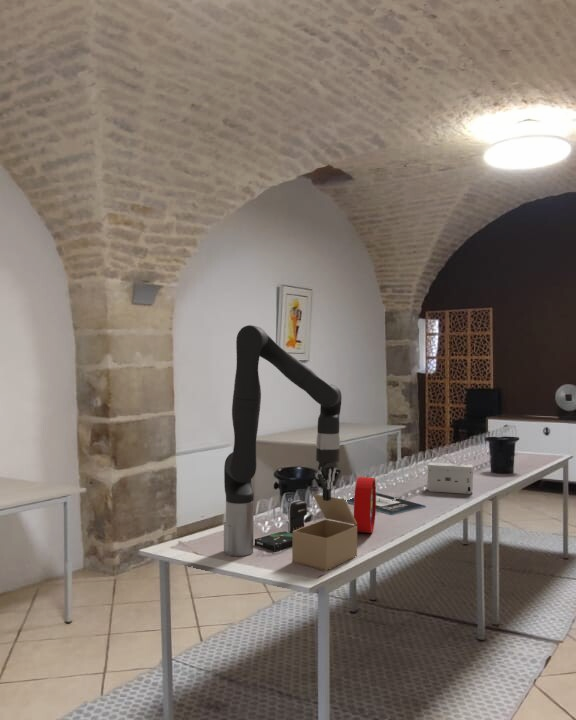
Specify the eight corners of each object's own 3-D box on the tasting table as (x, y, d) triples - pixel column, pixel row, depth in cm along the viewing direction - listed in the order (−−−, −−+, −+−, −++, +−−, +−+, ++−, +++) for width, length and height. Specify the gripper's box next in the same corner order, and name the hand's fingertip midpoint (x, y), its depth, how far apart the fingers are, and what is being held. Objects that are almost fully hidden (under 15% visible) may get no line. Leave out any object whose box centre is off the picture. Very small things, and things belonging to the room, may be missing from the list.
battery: (294, 535, 242) (295, 504, 241) (287, 533, 244) (287, 502, 244) (308, 531, 247) (308, 500, 246) (300, 529, 249) (301, 499, 249)
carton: (326, 570, 204) (326, 538, 204) (292, 562, 212) (292, 530, 212) (356, 556, 219) (357, 525, 219) (323, 548, 227) (324, 519, 226)
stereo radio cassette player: (472, 491, 317) (473, 449, 316) (472, 495, 309) (473, 452, 308) (427, 488, 322) (428, 447, 321) (426, 492, 314) (427, 450, 313)
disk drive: (275, 554, 222) (305, 543, 233) (275, 545, 222) (305, 536, 233) (253, 547, 230) (284, 537, 240) (253, 539, 230) (284, 529, 240)
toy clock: (369, 539, 237) (370, 483, 237) (353, 538, 239) (354, 482, 238) (375, 524, 257) (376, 473, 256) (360, 523, 258) (361, 472, 257)
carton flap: (344, 500, 213) (345, 499, 213) (313, 495, 220) (313, 494, 220) (356, 524, 219) (357, 523, 219) (325, 518, 226) (326, 517, 227)
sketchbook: (391, 516, 272) (391, 511, 272) (340, 502, 295) (340, 497, 295) (425, 508, 285) (425, 503, 285) (374, 495, 309) (374, 490, 308)
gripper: (329, 443, 223) (328, 495, 223) (306, 447, 212) (305, 502, 212) (348, 446, 218) (347, 498, 218) (326, 450, 208) (324, 505, 208)
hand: (326, 500), depth 215 cm, fingers closed
